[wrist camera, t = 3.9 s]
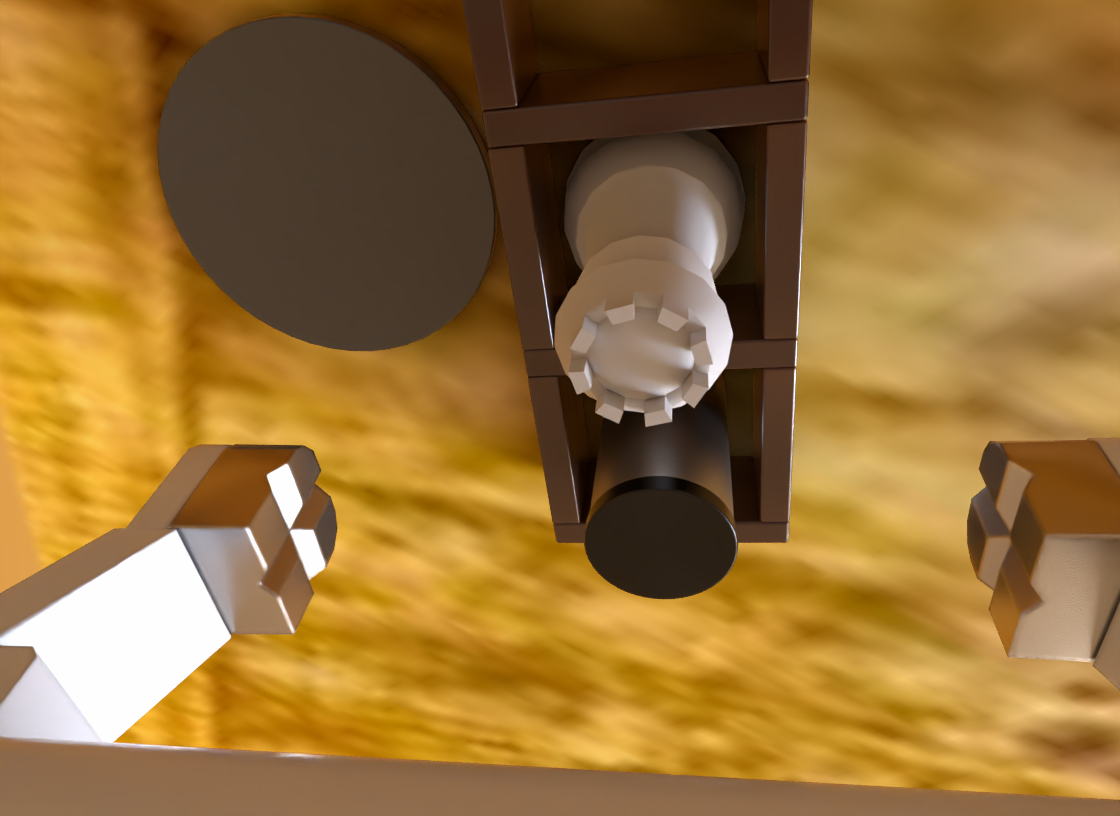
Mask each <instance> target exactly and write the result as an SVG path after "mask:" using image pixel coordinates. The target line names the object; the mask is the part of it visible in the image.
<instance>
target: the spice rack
mask: <svg viewBox="0 0 1120 816" xmlns="http://www.w3.org/2000/svg"><path fill="white" fill-rule="evenodd" d="M462 3H463V9H464V14H465V20H466V26H467V32H468V37H469V43H470V49H471V55H472V60H473V66H474V72H475V78H476V83H477V89H478V95H479V101H480V106H481V109H482V110H484V111H483V113H482V116H483V122H484V128H485V134H486V139H487V144H488V146H489V147H490V148H489V150H488V154H489V159H490V165H491V171H492V177H493V182H494V188H495V194H496V200H497V205H498V211H499V217H500V223H501V228H502V234H503V240H504V246H505V251H506V257H507V263H508V269H509V274H510V280H511V286H512V291H513V297H514V303H515V309H516V314H517V320H518V326H519V332H520V337H521V343H522V348H523V350H524V351H523V354H524V359H525V365H526V371H527V375H528V383H529V389H530V395H531V401H532V406H533V412H534V418H535V424H536V429H537V435H538V441H539V447H540V452H541V458H542V464H543V470H544V475H545V481H546V487H547V493H548V498H549V504H550V510H551V516H552V521H553V523H554V524H553V525H554V531H555V536H556V541H557V542H558V543H584V534H585V527H586V520H587V517H588V514H589V512H590V507H591V500H592V493H593V486H594V479H595V472H596V465H597V460H590V456H589V448H588V441H587V433H586V426H585V418H584V410H583V403H582V395H581V393H580V394H578V395H577V393H576V391H575V388H574V386H573V383H572V381H571V379H570V378H569V377H568V376H567V375H566V374H565V371H564V369H563V366H562V364H561V361H560V359H559V356H558V354H557V351H556V349H555V347H554V340H555V321H556V315H557V313H558V311H559V309H560V307H561V305H562V304H563V302H564V300H565V298H566V296H567V294H568V289H567V281H566V274H565V266H564V259H563V251H562V244H561V236H560V228H559V221H558V213H557V206H556V198H555V190H554V183H553V175H552V168H551V160H550V153H549V145H548V143H555V142H566V141H577V140H589V139H600V138H612V137H623V136H634V135H646V134H657V133H669V132H680V131H692V130H703V129H714V128H726V127H737V126H749V125H756V208H755V284H749V285H730V286H715V288H716V292H717V295H718V296H719V297H720V299H721V300H722V301H723V302H724V303H725V306H726V309H727V313H728V317H729V321H730V324H731V328H732V332H733V338H732V343H731V348H730V353H729V358H728V363H727V366H726V367H725V368H724V369H749V368H754V409H753V457H730V467H731V482H732V497H733V512H734V520H735V523H736V527H737V538H738V543H786V542H788V540H789V519H790V502H791V480H792V457H793V435H794V412H795V390H796V364H797V346H798V339H797V337H798V325H799V302H800V280H801V258H802V235H803V213H804V190H805V168H806V146H807V121H806V118H807V116H808V96H809V82H808V80H807V78H808V77H809V74H810V52H811V30H812V7H813V0H758V19H757V48H758V51H753V52H744V53H734V54H724V55H714V56H705V57H695V58H685V59H676V60H666V61H656V62H646V63H637V64H627V65H617V66H608V67H598V68H588V69H578V70H569V71H559V72H549V73H539V74H537V73H538V63H537V55H536V47H535V40H534V32H533V25H532V17H531V10H530V2H529V0H462Z"/></svg>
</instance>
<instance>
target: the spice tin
mask: <svg viewBox="0 0 1120 816" xmlns="http://www.w3.org/2000/svg"><path fill="white" fill-rule="evenodd" d="M584 546H585V550H586V554H587V556H588V559H589V561H590V563H591V564H592V566H593V567H594V569H595V570H596V571H597V572H598V573H599V574H600V575H601V576H602V577H603V578H604V579H605V580H606V581H608V582H609V583H611V584H612V585H614V586H616V587H617V588H619V589H621V590H623V591H626V592H628V593H631V594H634V595H637V596H642V597H646V598H653V599H676V598H684V597H688V596H692V595H695V594H698V593H701V592H703V591H705V590H708V589H709V588H711V587H713V586H714V585H716V584H717V583H718V582H720V581H721V580H722V579H723V578H724V577H725V576H726V575H727V574H728V572H729V571H730V569H731V568H732V566H733V564H734V562H735V560H736V556H737V551H738V538H737V527H736V523H735V520H734V512H733V497H732V482H731V467H730V453H729V438H728V423H727V408H726V393H725V382H724V378H723V375H722V373H721V374H720V375H719V377H718V378H717V379H716V381H715V382H714V383H713V385H712V386H711V387H710V389H709V390H707V391H706V393H705V394H704V395H703V397H702V398H701V399H700V401H699V402H698V403H697V405H696V406H695V408H693V407H692V406H691V405H689V404H688V403H686V404H685V405H683V406H681V407H676V408H672V422H667V423H662V424H658V425H653V426H648V427H646V425H645V416H644V413H643V412H635V411H626V410H624V411H623V414H622V417H621V419H620V422H619V424H618V423H616V422H614V421H612V420H609V419H607V418H605V417H603V423H602V430H601V437H600V444H599V451H598V458H597V465H596V472H595V479H594V486H593V493H592V500H591V507H590V512H589V514H588V517H587V520H586V527H585V534H584Z"/></svg>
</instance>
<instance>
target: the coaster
mask: <svg viewBox="0 0 1120 816" xmlns="http://www.w3.org/2000/svg"><path fill="white" fill-rule="evenodd" d="M157 153H158V164H159V174H160V179H161V183H162V188H163V192H164V196H165V199H166V202H167V205H168V208H169V211H170V214H171V216H172V219H173V221H174V223H175V225H176V227H177V229H178V231H179V233H180V235H181V237H182V239H183V241H184V242H185V244H186V245H187V247H188V249H189V250H190V252H191V254H192V255H193V257H194V258H195V259H196V261H197V262H198V263H199V265H200V266H201V267H202V269H203V270H204V271H205V273H206V274H207V275H208V276H209V277H210V278H211V279H212V280H213V281H214V282H215V283H216V285H217V286H218V287H219V288H220V289H221V290H222V291H223V292H224V293H226V294H227V295H228V296H229V297H230V298H231V299H232V300H233V301H234V302H236V303H237V304H238V305H239V306H241V307H242V308H243V309H245V310H246V311H247V312H249V313H250V314H252V315H253V316H254V317H256V318H257V319H259V320H261V321H262V322H264V323H266V324H267V325H269V326H271V327H273V328H274V329H277V330H279V331H281V332H283V333H285V334H287V335H289V336H291V337H294V338H297V339H300V340H302V341H305V342H308V343H311V344H315V345H319V346H323V347H327V348H332V349H339V350H347V351H377V350H386V349H391V348H396V347H400V346H404V345H408V344H410V343H413V342H415V341H418V340H421V339H423V338H425V337H427V336H429V335H431V334H432V333H434V332H436V331H438V330H440V329H441V328H442V327H443V326H445V325H446V324H447V323H449V322H450V321H451V320H453V319H454V318H455V317H456V316H457V315H458V314H459V313H460V312H461V311H462V310H463V309H464V308H465V306H466V305H467V304H468V303H469V301H470V300H471V298H472V297H473V296H474V294H475V293H476V291H477V290H478V288H479V286H480V284H481V282H482V280H483V278H484V276H485V274H486V271H487V269H488V267H489V264H490V261H491V258H492V255H493V252H494V248H495V243H496V237H497V231H498V205H497V200H496V194H495V188H494V182H493V177H492V171H491V165H490V159H489V156H488V154H487V151H486V148H485V146H484V143H483V140H482V138H481V136H480V135H479V133H478V131H477V129H476V127H475V125H474V123H473V121H472V119H471V117H470V116H469V114H468V113H467V111H466V110H465V109H464V107H463V106H462V104H461V103H460V101H459V100H458V98H457V97H456V96H455V94H454V93H453V92H452V91H451V90H450V89H449V88H448V86H447V85H446V84H445V83H444V82H443V81H442V79H441V78H440V77H439V76H438V75H437V74H436V73H434V72H433V71H432V70H431V69H430V68H429V67H428V66H427V65H426V64H425V63H424V62H422V61H421V60H420V59H419V58H418V57H416V56H415V55H413V54H412V53H411V52H409V51H408V50H406V49H405V48H404V47H402V46H401V45H400V44H398V43H396V42H394V41H393V40H391V39H389V38H387V37H385V36H383V35H382V34H380V33H378V32H376V31H374V30H372V29H369V28H366V27H364V26H361V25H359V24H356V23H354V22H351V21H347V20H343V19H339V18H335V17H331V16H327V15H319V14H309V13H285V14H275V15H270V16H265V17H260V18H256V19H253V20H250V21H248V22H245V23H243V24H240V25H237V26H235V27H232V28H230V29H228V30H226V31H225V32H223V33H221V34H219V35H218V36H216V37H214V38H213V39H211V40H209V41H208V42H207V43H206V44H205V45H204V46H202V47H201V48H200V49H199V50H198V51H197V52H196V53H194V54H193V55H192V57H191V58H190V59H189V60H188V61H187V63H186V64H185V65H184V66H183V68H182V69H181V70H180V72H179V73H178V75H177V77H176V79H175V81H174V82H173V84H172V86H171V88H170V90H169V92H168V95H167V98H166V101H165V104H164V106H163V109H162V114H161V120H160V125H159V130H158V151H157Z"/></svg>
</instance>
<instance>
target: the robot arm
mask: <svg viewBox="0 0 1120 816" xmlns="http://www.w3.org/2000/svg"><path fill="white" fill-rule="evenodd" d="M979 470H980V473H981V475H982V477H983V480H984V482H985V484H986V487H985V488H984V489H983V490H982V491H980V492H979V493H978V494H977V495H976V496H974V497H973V498H972V499H971V504H970V509H969V514H968V519H967V544H968V549H969V554H970V559H971V563H972V565H973V568H974V571H975V574H976V576H977V579H979V580H980V581H981V582H983V583H984V584H985V585H987V586H988V587H989V588H991V589H992V590H993V591H994V592H993V596H992V600H991V603H990V607H989V611H990V613H991V616H992V618H993V621H994V623H995V626H996V628H997V631H998V633H999V636H1000V639H1001V641H1002V644H1003V646H1004V649H1005V651H1006V654H1007V656H1008V657H1013V658H1031V659H1049V660H1066V661H1084V662H1094V663H1093V666H1094V667H1095V668H1096V669H1097V670H1098V671H1099V672H1100V673H1101V674H1103V675H1104V676H1105V677H1106V678H1107V679H1108V680H1109V681H1110V682H1111V683H1112V684H1114V685H1115V686H1116V687H1117V688H1118V689H1119V690H1120V438H1088V439H1087V440H1039V441H990V442H989V443H988V445H987V447H986V448H985V450H984V452H983V455H982V459H981V463H980V467H979ZM320 472H321V469H320V466H319V464H318V461H317V459H316V456H315V454H314V451H313V450H311V449H309V448H308V447H306V446H302V445H239V444H235V445H198V446H195V447H192V448H190V449H188V450H187V452H186V453H185V454H184V455H183V457H182V458H181V459H180V461H179V462H178V463H177V464H176V466H175V467H174V468H173V469H172V471H171V472H170V473H169V474H168V476H167V477H166V478H165V480H164V481H163V482H162V483H161V485H160V486H159V487H158V488H157V490H156V491H155V492H154V493H153V495H152V496H151V497H150V498H149V500H148V501H147V502H146V504H145V505H144V506H143V507H142V509H141V510H140V511H139V512H138V514H137V515H136V516H135V517H134V519H133V520H132V521H131V522H130V524H129V525H128V526H127V528H126V529H113V530H111V531H109V532H108V533H106V534H104V535H102V536H101V537H99V538H97V539H95V540H93V541H92V542H90V543H88V544H86V545H85V546H83V547H81V548H79V549H78V550H76V551H74V552H72V553H71V554H69V555H67V556H65V557H63V558H62V559H60V560H58V561H56V562H55V563H53V564H51V565H49V566H48V567H46V568H44V569H42V570H41V571H39V572H37V573H35V574H34V575H32V576H30V577H28V578H26V579H25V580H23V581H21V582H19V583H18V584H16V585H15V586H12V587H11V588H9V589H7V590H5V591H4V592H2V593H0V816H1120V800H1112V799H1095V798H1078V797H1060V796H1043V795H1025V794H1008V793H990V792H973V791H955V790H937V789H920V788H902V787H884V786H866V785H848V784H831V783H813V782H795V781H777V780H760V779H742V778H724V777H706V776H689V775H671V774H654V773H636V772H619V771H601V770H584V769H566V768H549V767H532V766H514V765H497V764H479V763H462V762H444V761H427V760H409V759H392V758H374V757H357V756H339V755H321V754H304V753H286V752H269V751H251V750H233V749H216V748H198V747H181V746H163V745H145V744H128V743H113V742H114V741H115V740H116V739H117V738H118V737H119V736H120V735H122V734H123V733H124V732H125V731H126V730H127V729H128V728H129V727H131V726H132V725H133V724H134V723H135V722H136V721H137V720H139V719H140V718H141V717H142V716H143V715H144V714H145V713H146V712H148V711H149V710H150V709H151V708H152V707H153V706H154V705H155V704H157V703H158V702H159V701H160V700H161V699H162V698H163V697H165V696H166V695H167V694H168V693H169V692H170V691H171V690H172V689H174V688H175V687H176V686H177V685H178V684H179V683H180V682H181V681H183V680H184V679H185V678H186V677H187V676H188V675H189V674H191V673H192V672H193V671H194V670H195V669H196V668H197V667H198V666H200V665H201V664H202V663H203V662H204V661H205V660H206V659H207V658H209V657H210V656H211V655H212V654H213V653H214V652H215V651H217V650H218V649H219V648H220V647H221V646H222V645H223V644H224V643H226V642H227V641H228V640H229V639H230V638H231V635H230V634H294V633H295V631H296V629H297V627H298V625H299V623H300V621H301V619H302V617H303V615H304V613H305V611H306V608H307V606H308V604H309V602H310V600H311V598H312V596H313V594H314V592H313V590H312V587H311V584H310V582H309V579H311V578H312V577H313V576H315V575H316V574H317V573H319V572H320V571H321V570H323V569H324V568H325V567H327V564H328V562H329V560H330V558H331V555H332V553H333V551H334V547H335V540H336V533H337V522H336V513H335V509H334V506H333V503H332V500H331V497H330V496H329V495H328V494H327V493H326V492H324V491H323V490H322V489H321V488H320V487H318V486H317V485H316V484H315V482H316V480H317V478H318V476H319V474H320Z"/></svg>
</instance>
